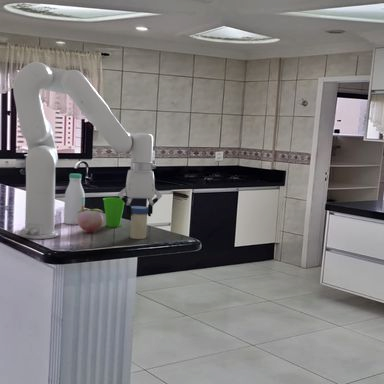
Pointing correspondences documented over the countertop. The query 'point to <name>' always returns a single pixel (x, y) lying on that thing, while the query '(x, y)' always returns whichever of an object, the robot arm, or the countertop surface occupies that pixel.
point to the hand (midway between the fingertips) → (139, 215)
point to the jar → (138, 226)
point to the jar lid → (139, 210)
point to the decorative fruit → (90, 219)
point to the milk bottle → (73, 199)
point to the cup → (113, 211)
